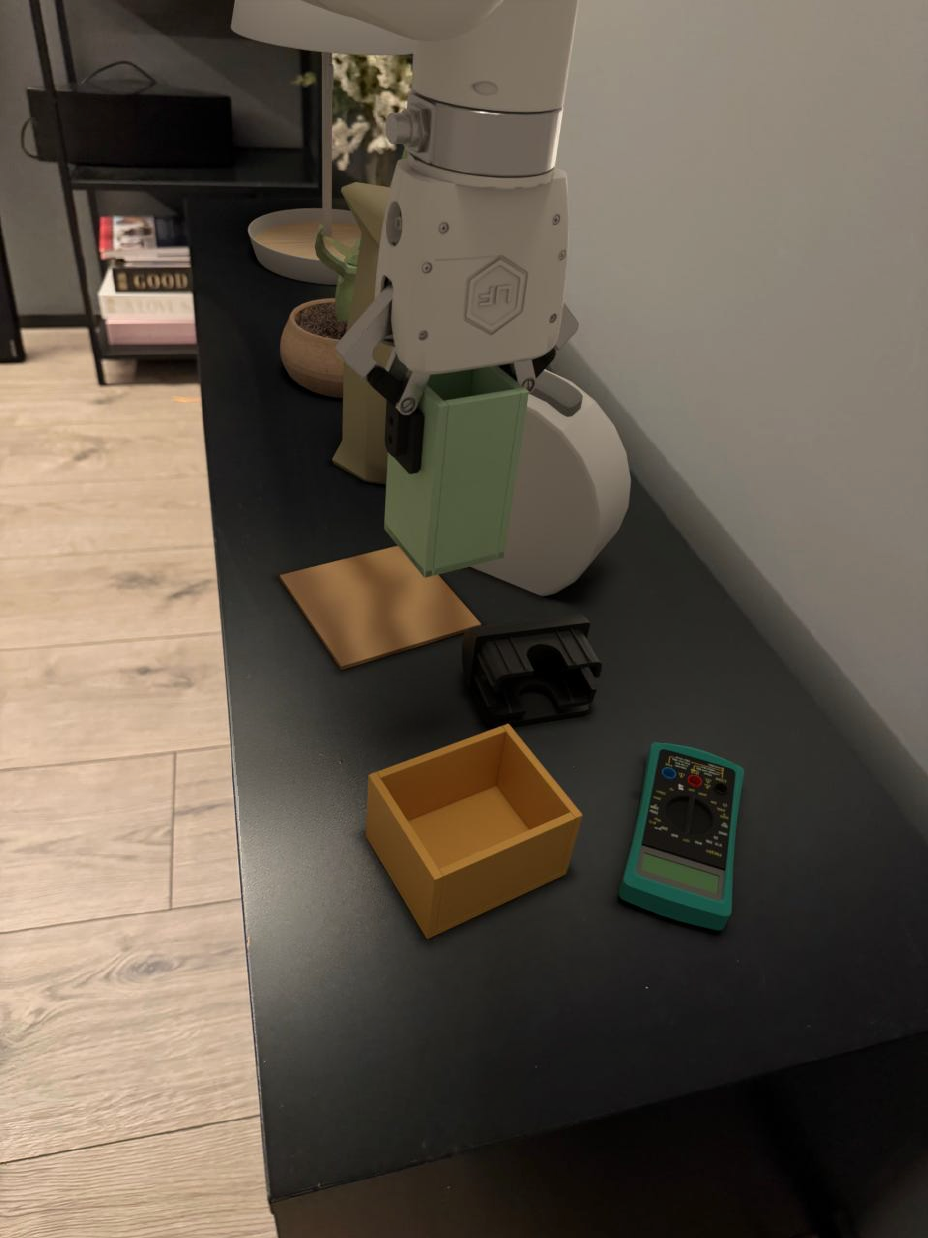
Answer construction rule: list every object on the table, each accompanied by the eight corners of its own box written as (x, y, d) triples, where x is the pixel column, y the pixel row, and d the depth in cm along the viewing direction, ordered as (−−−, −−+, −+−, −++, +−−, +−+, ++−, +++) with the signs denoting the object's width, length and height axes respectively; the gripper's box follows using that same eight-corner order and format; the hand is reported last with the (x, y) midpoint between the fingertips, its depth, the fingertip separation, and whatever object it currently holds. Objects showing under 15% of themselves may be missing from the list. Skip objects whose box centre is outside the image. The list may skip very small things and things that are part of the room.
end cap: (563, 658, 83) (576, 599, 78) (594, 714, 78) (610, 654, 73) (457, 673, 80) (464, 612, 76) (482, 731, 75) (492, 670, 70)
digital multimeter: (737, 781, 73) (748, 756, 71) (721, 939, 62) (733, 914, 60) (646, 755, 75) (654, 730, 73) (614, 905, 63) (623, 880, 61)
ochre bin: (426, 940, 60) (434, 880, 56) (365, 835, 66) (368, 774, 62) (566, 874, 65) (583, 815, 61) (497, 783, 71) (508, 723, 67)
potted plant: (288, 409, 114) (282, 143, 95) (274, 348, 127) (266, 103, 108) (465, 405, 119) (492, 152, 100) (433, 346, 132) (452, 114, 114)
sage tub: (424, 578, 59) (439, 406, 51) (383, 528, 63) (392, 361, 55) (504, 558, 61) (529, 391, 54) (460, 511, 65) (478, 349, 58)
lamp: (248, 289, 142) (230, -53, 115) (239, 228, 164) (222, -72, 137) (432, 291, 149) (456, -31, 122) (400, 232, 171) (414, -53, 144)
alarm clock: (611, 575, 93) (656, 394, 81) (582, 613, 88) (625, 425, 76) (431, 504, 100) (447, 327, 88) (394, 535, 95) (405, 352, 82)
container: (506, 417, 118) (541, 163, 99) (553, 487, 105) (604, 212, 86) (318, 428, 111) (318, 156, 92) (346, 503, 99) (352, 209, 80)
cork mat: (341, 670, 79) (341, 666, 78) (279, 579, 88) (279, 574, 87) (480, 627, 85) (481, 623, 85) (410, 546, 94) (410, 542, 93)
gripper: (356, 163, 40) (349, 511, 52) (663, 152, 48) (597, 458, 59) (293, 121, 45) (299, 448, 56) (580, 117, 53) (534, 406, 64)
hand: (452, 450), depth 58 cm, fingers closed on sage tub, 6 cm apart
